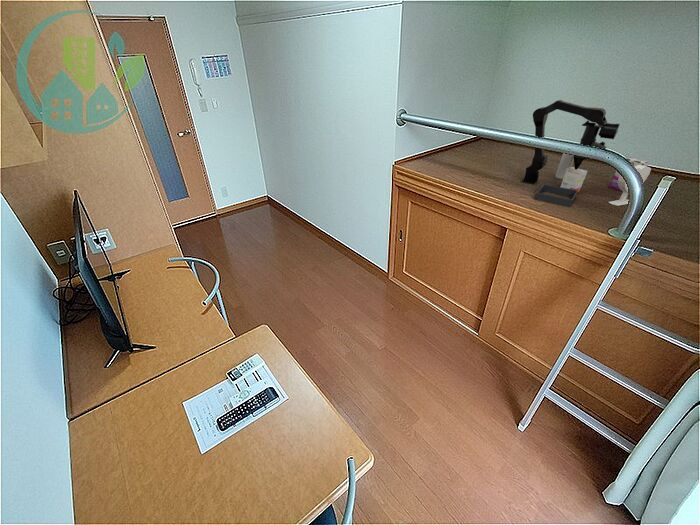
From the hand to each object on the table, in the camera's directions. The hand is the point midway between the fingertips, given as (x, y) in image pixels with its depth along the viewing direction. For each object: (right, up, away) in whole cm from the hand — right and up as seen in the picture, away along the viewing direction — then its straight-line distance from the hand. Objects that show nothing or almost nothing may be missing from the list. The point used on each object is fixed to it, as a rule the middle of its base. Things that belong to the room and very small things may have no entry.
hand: (577, 167), depth 169 cm
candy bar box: (+29, -11, +7) cm, 31 cm away
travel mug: (+6, 0, +23) cm, 23 cm away
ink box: (0, -11, +6) cm, 13 cm away
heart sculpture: (+17, -20, -8) cm, 27 cm away
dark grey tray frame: (-13, -17, -2) cm, 22 cm away
